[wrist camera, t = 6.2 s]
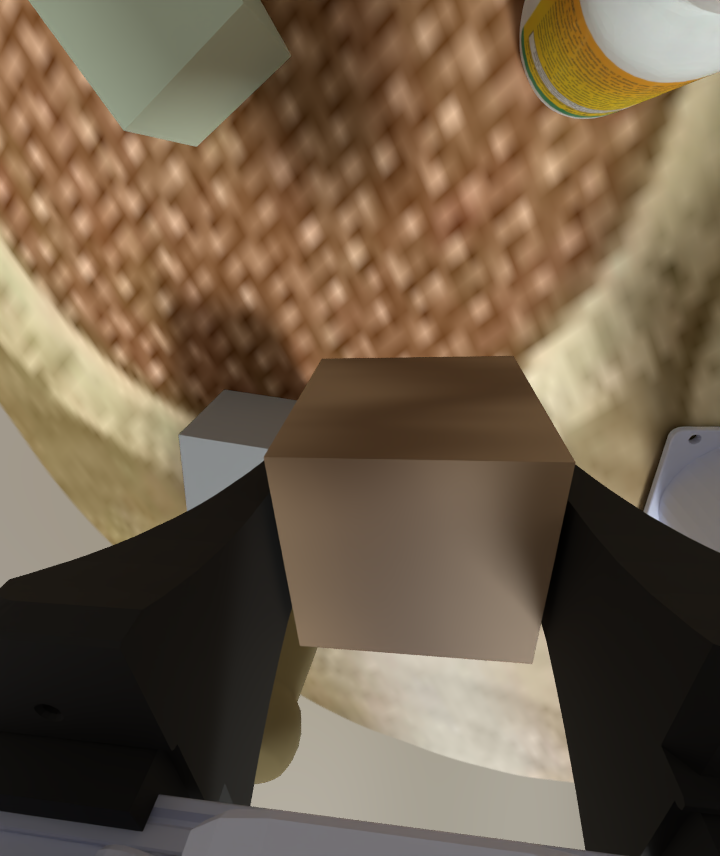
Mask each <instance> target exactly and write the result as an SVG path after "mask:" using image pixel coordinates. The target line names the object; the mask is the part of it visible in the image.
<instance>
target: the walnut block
mask: <svg viewBox="0 0 720 856" xmlns="http://www.w3.org/2000/svg"><path fill="white" fill-rule="evenodd" d="M264 462H265V467H266V472H267V478H268V483H269V488H270V493H271V498H272V504H273V509H274V514H275V519H276V524H277V530H278V535H279V540H280V545H281V550H282V556H283V561H284V566H285V571H286V576H287V582H288V587H289V592H290V597H291V602H292V608H293V613H294V618H295V623H296V628H297V634H298V639H299V644H300V646H309V647H322V648H334V649H347V650H360V651H373V652H386V653H399V654H411V655H424V656H437V657H450V658H463V659H475V660H488V661H501V662H514V663H527V664H532V663H533V658H534V654H535V649H536V644H537V640H538V635H539V630H540V626H541V621H542V616H543V612H544V607H545V602H546V598H547V593H548V588H549V584H550V579H551V574H552V570H553V565H554V560H555V556H556V551H557V546H558V542H559V537H560V532H561V528H562V523H563V518H564V514H565V509H566V504H567V500H568V495H569V490H570V486H571V481H572V476H573V472H574V467H575V461H574V459H573V457H572V456H571V454H570V452H569V451H568V449H567V447H566V445H565V444H564V442H563V440H562V439H561V437H560V435H559V433H558V432H557V430H556V428H555V427H554V425H553V423H552V421H551V420H550V418H549V416H548V415H547V413H546V411H545V409H544V408H543V406H542V404H541V403H540V401H539V399H538V397H537V396H536V394H535V392H534V391H533V389H532V387H531V385H530V384H529V382H528V380H527V378H526V377H525V375H524V373H523V372H522V370H521V368H520V366H519V365H518V363H517V361H516V360H515V358H514V356H482V357H412V358H342V359H322V360H321V361H320V363H319V365H318V367H317V368H316V370H315V372H314V373H313V375H312V377H311V378H310V380H309V382H308V383H307V385H306V387H305V388H304V390H303V392H302V393H301V395H300V397H299V398H298V400H297V402H296V403H295V405H294V407H293V408H292V410H291V412H290V414H289V415H288V417H287V419H286V420H285V422H284V424H283V425H282V427H281V429H280V430H279V432H278V434H277V435H276V437H275V439H274V440H273V442H272V444H271V445H270V447H269V449H268V450H267V452H266V454H265V456H264Z"/></svg>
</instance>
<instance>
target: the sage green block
mask: <svg viewBox="0 0 720 856" xmlns="http://www.w3.org/2000/svg"><path fill="white" fill-rule="evenodd" d="M29 2H30V3H31V4H32V6H33V7H34V8H35V10H36V11H37V13H38V14H39V15H40V17H41V18H42V19H43V21H44V22H45V23H46V25H47V26H48V28H49V29H50V30H51V32H52V33H53V34H54V36H55V37H56V39H57V40H58V41H59V43H60V44H61V45H62V47H63V48H64V49H65V51H66V52H67V54H68V55H69V56H70V58H71V59H72V60H73V62H74V63H75V65H76V66H77V67H78V69H79V70H80V71H81V73H82V74H83V75H84V77H85V78H86V80H87V81H88V82H89V84H90V85H91V86H92V88H93V89H94V90H95V92H96V93H97V95H98V96H99V97H100V99H101V100H102V101H103V103H104V104H105V106H106V107H107V108H108V110H109V111H110V112H111V114H112V115H113V116H114V118H115V119H116V121H117V122H118V123H119V125H120V126H121V127H122V129H123V130H124V131H128V132H132V133H137V134H141V135H146V136H150V137H155V138H160V139H164V140H169V141H173V142H178V143H182V144H187V145H191V146H196V147H197V146H198V145H199V144H200V143H201V142H202V141H203V140H204V139H205V138H206V137H207V136H208V135H209V134H210V133H211V132H213V131H214V130H215V129H216V128H217V127H218V126H219V125H220V124H221V123H222V122H223V121H224V120H225V119H226V118H227V117H228V116H229V115H230V114H231V113H232V112H233V111H235V110H236V109H237V108H238V107H239V106H240V105H241V104H242V103H243V102H244V101H245V100H246V99H247V98H248V97H249V96H250V95H251V94H252V93H253V92H254V91H255V90H256V89H258V88H259V87H260V86H261V85H262V84H263V83H264V82H265V81H266V80H267V79H268V78H269V77H270V76H271V75H272V74H273V73H274V72H275V71H276V70H277V69H278V68H279V67H281V66H282V65H283V64H284V63H285V62H286V61H287V60H288V59H289V58H290V57H291V56H292V55H291V54H290V52H289V50H288V48H287V47H286V45H285V43H284V41H283V40H282V38H281V36H280V34H279V32H278V31H277V29H276V27H275V25H274V24H273V22H272V20H271V18H270V16H269V15H268V13H267V11H266V9H265V8H264V6H263V4H262V2H261V1H260V0H29Z"/></svg>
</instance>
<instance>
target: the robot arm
mask: <svg viewBox="0 0 720 856" xmlns="http://www.w3.org/2000/svg"><path fill="white" fill-rule="evenodd" d="M693 435H696V437H695V438H694V439H692V440H689V438H690V437H691V436H693ZM291 610H292V602H291V597H290V592H289V587H288V582H287V576H286V571H285V566H284V561H283V556H282V550H281V545H280V540H279V535H278V530H277V524H276V519H275V514H274V509H273V504H272V498H271V493H270V488H269V483H268V478H267V472H266V467H265V462H264V461H263V462H261V463H260V464H259V465H257V466H256V467H255V468H254V469H252V470H251V471H250V472H248V473H247V474H245V475H244V476H242V477H241V478H240V479H238V480H237V481H235V482H234V483H232V484H231V485H229V486H228V487H226V488H225V489H223V490H222V491H220V492H219V493H217V494H216V495H214V496H213V497H211V498H209V499H208V500H206V501H204V502H203V503H201V504H199V505H197V506H196V507H194V508H192V509H190V510H188V511H187V512H185V513H183V514H181V515H179V516H177V517H175V518H173V519H171V520H169V521H167V522H165V523H163V524H161V525H158V526H156V527H154V528H152V529H150V530H148V531H146V532H144V533H141V534H139V535H137V536H135V537H132V538H130V539H128V540H125V541H123V542H120V543H118V544H115V545H113V546H110V547H108V548H105V549H102V550H100V551H97V552H94V553H91V554H89V555H86V556H83V557H80V558H77V559H74V560H72V561H69V562H65V563H62V564H59V565H56V566H52V567H49V568H46V569H43V570H39V571H36V572H33V573H30V574H26V575H23V576H20V577H16V578H13V579H10V580H8V581H7V582H6V583H5V584H4V585H3V586H2V587H1V588H0V856H720V427H677V428H675V429H673V430H672V431H671V432H670V433H669V435H668V437H667V440H666V444H665V447H664V450H663V453H662V456H661V459H660V462H659V465H658V468H657V471H656V474H655V477H654V480H653V484H652V487H651V490H650V493H649V496H648V499H647V502H646V505H645V508H644V511H641V510H640V509H638V508H637V507H635V506H634V505H632V504H630V503H629V502H627V501H626V500H624V499H623V498H621V497H620V496H618V495H617V494H615V493H614V492H612V491H611V490H609V489H608V488H607V487H605V486H604V485H602V484H601V483H600V482H598V481H597V480H595V479H594V478H593V477H591V476H590V475H589V474H587V473H586V472H585V471H583V470H582V469H581V468H579V467H578V466H577V465H575V467H574V472H573V476H572V481H571V486H570V490H569V495H568V500H567V504H566V509H565V514H564V518H563V523H562V528H561V532H560V537H559V542H558V546H557V551H556V556H555V560H554V565H553V570H552V574H551V579H550V584H549V588H548V593H547V598H546V602H545V607H544V612H543V616H542V621H541V623H542V627H543V630H544V634H545V638H546V641H547V646H548V651H549V655H550V660H551V664H552V669H553V674H554V678H555V683H556V688H557V693H558V698H559V703H560V708H561V713H562V718H563V723H564V728H565V733H566V739H567V744H568V750H569V756H570V761H571V767H572V772H573V778H574V783H575V789H576V794H577V800H578V806H579V813H580V819H581V825H582V831H583V838H584V844H585V850H586V851H585V850H577V849H570V848H562V847H555V846H547V845H540V844H532V843H526V842H519V841H511V840H503V839H496V838H488V837H481V836H472V835H465V834H457V833H450V832H443V831H435V830H426V829H420V828H412V827H404V826H397V825H389V824H382V823H374V822H367V821H359V820H351V819H344V818H336V817H329V816H321V815H313V814H306V813H298V812H291V811H283V810H275V809H266V808H258V807H251V806H250V803H251V798H252V793H253V787H254V782H255V776H256V771H257V765H258V759H259V754H260V749H261V744H262V739H263V734H264V729H265V724H266V719H267V714H268V709H269V703H270V699H271V694H272V690H273V685H274V680H275V676H276V671H277V667H278V662H279V658H280V653H281V649H282V645H283V641H284V636H285V632H286V628H287V624H288V620H289V617H290V613H291Z"/></svg>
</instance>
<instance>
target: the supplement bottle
mask: <svg viewBox="0 0 720 856" xmlns="http://www.w3.org/2000/svg"><path fill="white" fill-rule="evenodd" d="M520 55H521V61H522V65H523V68H524V71H525V74H526V77H527V79H528V81H529V83H530V85H531V87H532V89H533V90H534V92H535V94H536V95H537V96H538V98H539V99H540V100H541V101H542V102H543V103H544V104H545V105H546V106H547V107H549V108H550V109H551V110H553V111H555V112H557V113H559V114H561V115H564V116H567V117H571V118H579V119H591V118H597V117H602V116H606V115H609V114H611V113H615V112H617V111H620V110H622V109H626V108H628V107H631V106H633V105H636V104H638V103H641V102H643V101H646V100H648V99H651V98H653V97H656V96H659V95H661V94H663V93H666V92H668V91H671V90H673V89H676V88H678V87H681V86H684V85H686V84H689V83H691V82H694V81H696V80H699V79H701V78H704V77H707V76H709V75H712V74H714V73H717V72H720V0H525V2H524V6H523V11H522V16H521V23H520Z"/></svg>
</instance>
